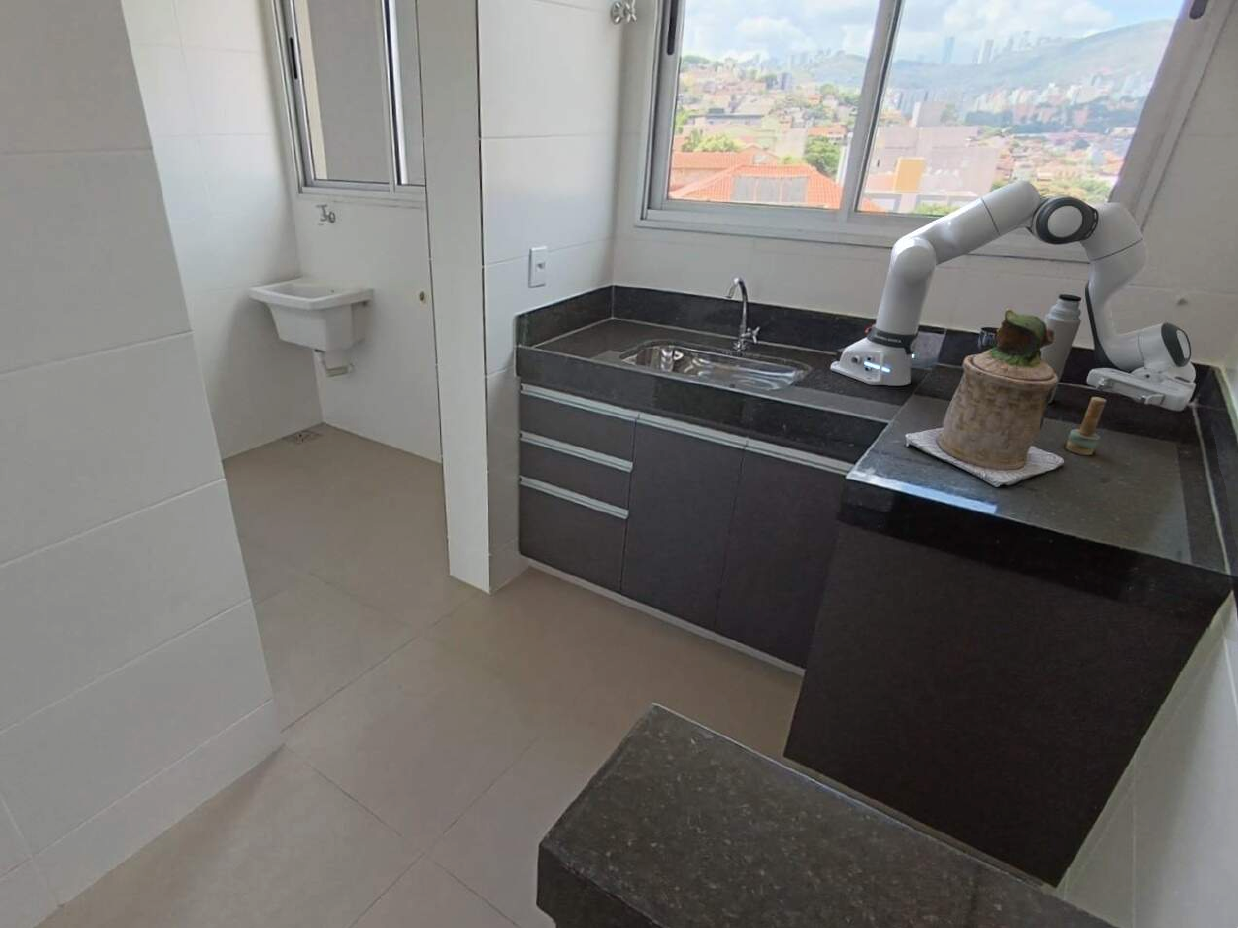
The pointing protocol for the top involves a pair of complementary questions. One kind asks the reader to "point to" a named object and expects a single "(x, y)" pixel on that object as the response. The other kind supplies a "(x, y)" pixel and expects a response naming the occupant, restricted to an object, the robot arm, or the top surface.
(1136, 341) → the robot arm
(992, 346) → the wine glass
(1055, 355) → the thermos bottle
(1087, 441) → the brush
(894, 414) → the top surface
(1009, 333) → the cookie jar
